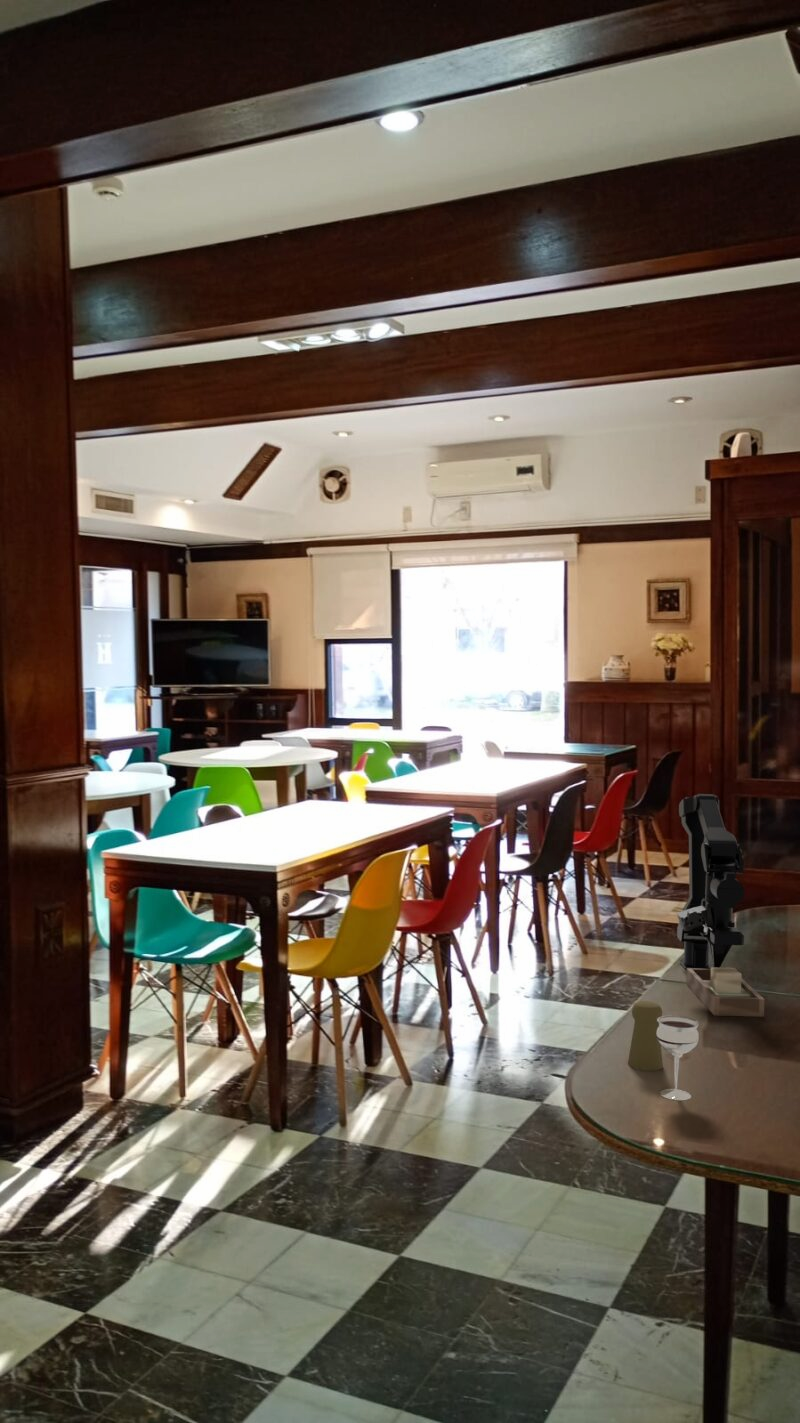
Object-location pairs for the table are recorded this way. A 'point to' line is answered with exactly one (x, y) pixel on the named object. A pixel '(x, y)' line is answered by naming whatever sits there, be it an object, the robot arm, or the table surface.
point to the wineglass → (677, 1045)
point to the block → (725, 980)
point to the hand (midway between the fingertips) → (716, 968)
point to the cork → (645, 1037)
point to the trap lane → (724, 996)
